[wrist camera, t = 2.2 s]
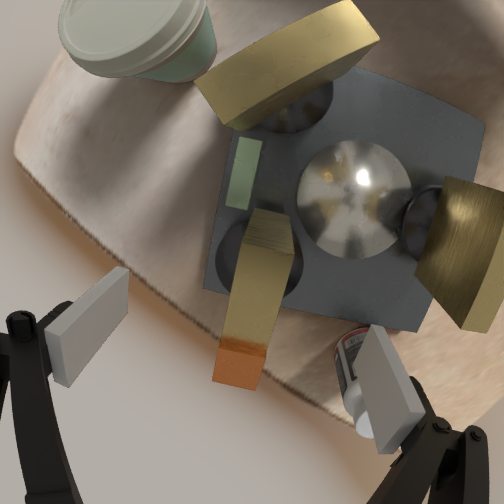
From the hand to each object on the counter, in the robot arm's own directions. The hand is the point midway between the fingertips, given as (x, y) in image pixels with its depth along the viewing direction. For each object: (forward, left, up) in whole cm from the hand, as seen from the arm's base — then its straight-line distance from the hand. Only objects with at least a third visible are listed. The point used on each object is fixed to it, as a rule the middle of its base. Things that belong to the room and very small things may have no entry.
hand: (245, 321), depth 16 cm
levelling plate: (-6, +6, -11) cm, 14 cm away
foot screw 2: (-6, +13, -9) cm, 17 cm away
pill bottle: (+8, +12, -12) cm, 18 cm away
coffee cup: (-15, -10, -12) cm, 22 cm away
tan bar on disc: (0, 0, -9) cm, 9 cm away
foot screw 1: (-13, -1, -9) cm, 16 cm away
